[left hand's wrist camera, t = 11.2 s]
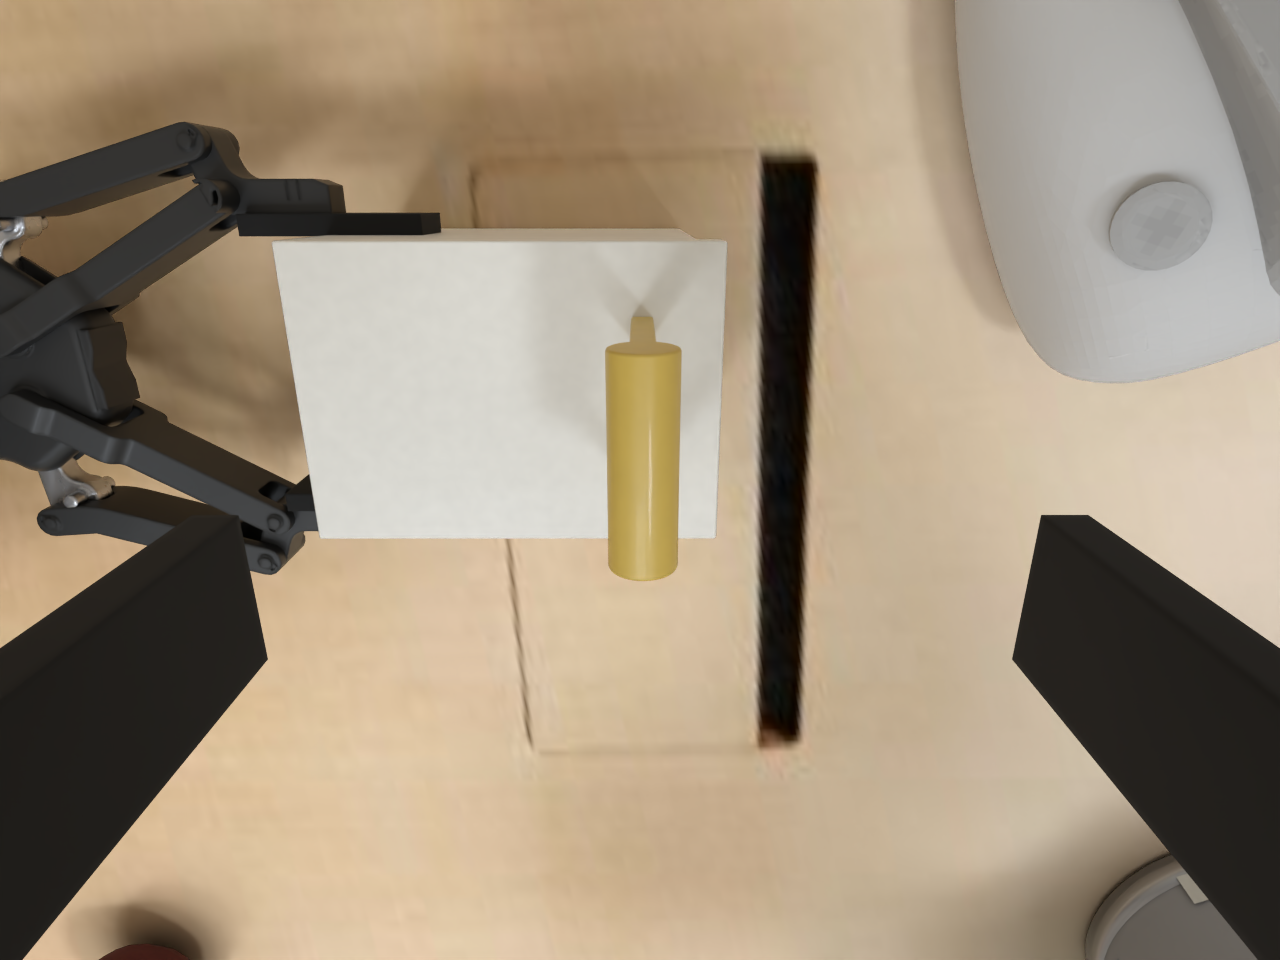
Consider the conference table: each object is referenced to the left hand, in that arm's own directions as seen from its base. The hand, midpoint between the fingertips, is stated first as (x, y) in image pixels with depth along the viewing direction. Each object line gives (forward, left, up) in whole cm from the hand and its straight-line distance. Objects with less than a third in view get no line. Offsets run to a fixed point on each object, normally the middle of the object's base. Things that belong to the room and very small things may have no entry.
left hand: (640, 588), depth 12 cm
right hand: (+6, +4, -18) cm, 20 cm away
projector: (-10, -20, -25) cm, 34 cm away
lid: (+4, +2, -14) cm, 14 cm away
